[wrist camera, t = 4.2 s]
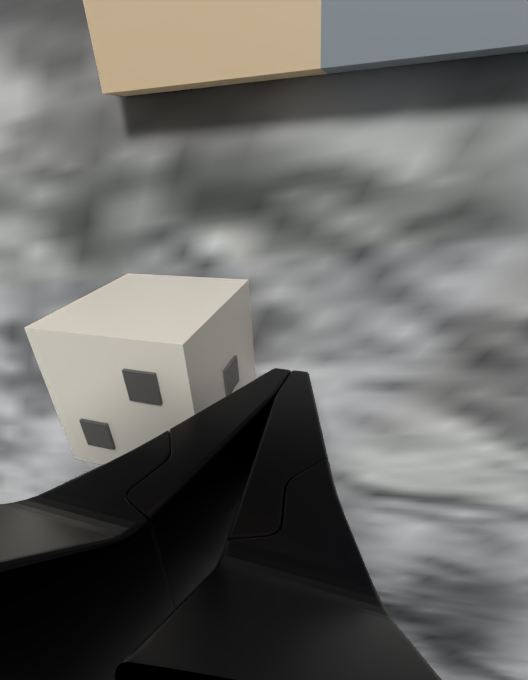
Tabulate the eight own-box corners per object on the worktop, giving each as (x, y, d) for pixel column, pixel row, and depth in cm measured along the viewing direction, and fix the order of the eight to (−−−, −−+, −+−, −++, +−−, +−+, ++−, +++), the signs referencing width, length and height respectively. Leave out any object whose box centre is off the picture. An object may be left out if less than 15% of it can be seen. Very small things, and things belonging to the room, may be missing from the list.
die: (252, 278, 11) (184, 347, 7) (260, 394, 13) (209, 492, 9) (129, 272, 12) (21, 329, 8) (153, 379, 14) (72, 460, 10)
